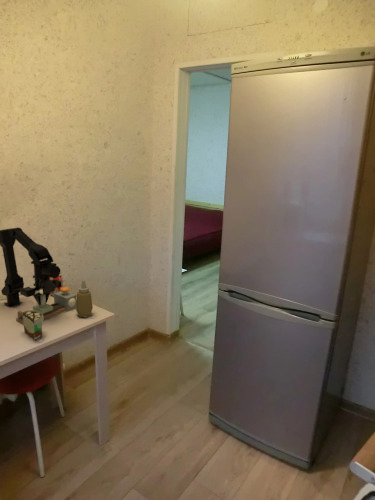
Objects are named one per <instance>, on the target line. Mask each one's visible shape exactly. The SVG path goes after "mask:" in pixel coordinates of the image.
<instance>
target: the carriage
mask: <svg viewBox="0 0 375 500" xmlns="http://www.w3.org/2000/svg"><path fill="white" fill-rule="evenodd" d="M40 299H41V305H38V304H36V305H33V306H32V310H34V311H39V312H41V313H42V314H43V313H46V312H49V311H51V310H53V306H51V304H49V303H46V295H45V294H43V293H41V295H40Z"/></svg>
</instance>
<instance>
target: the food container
mask: <svg viewBox="0 0 375 500" xmlns="http://www.w3.org/2000/svg"><path fill="white" fill-rule="evenodd" d="M22 316H23V323H24V325H23V329H24V334H25V336H27V337H28V338H30V339H31V340H32V341H33V342H36V341H38V340H40V339H41V338H42V335H43V321H45V320H44V317H43V314H42V313H41V312H39V311H34V310H33V309H32V310H24V311H22Z"/></svg>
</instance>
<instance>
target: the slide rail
mask: <svg viewBox="0 0 375 500" xmlns="http://www.w3.org/2000/svg"><path fill="white" fill-rule="evenodd" d="M50 305H51V306H53V310H51V311H49V312H46V313H43V317H44V320H43V321H45V320H48V319H50V318H52V317H55V316H58V315H60V314H62V313H65V312H67V311H66V308H64V305H62V306H60V305H58V303H57V302H56V303H54V302H53V303H51V304H50ZM22 312H23V311H21V310H18V311H17V317H16V318H15V322H17V323H20V324H22V325H23V326H24V323H23V316H22Z"/></svg>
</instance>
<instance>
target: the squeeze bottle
mask: <svg viewBox="0 0 375 500" xmlns="http://www.w3.org/2000/svg"><path fill="white" fill-rule="evenodd" d="M89 288H90V287H89V286H87V284H86V281H85V280H82V282H81V286H80V287H79V288H78V292H77V293H76V308H75V311H76V313H77V315H78V317H80V318H87V317H90V316H91V314H92V312H93V307H94V305H93V299H92V298H93V297H92V293H91V291H90V289H89Z"/></svg>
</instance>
